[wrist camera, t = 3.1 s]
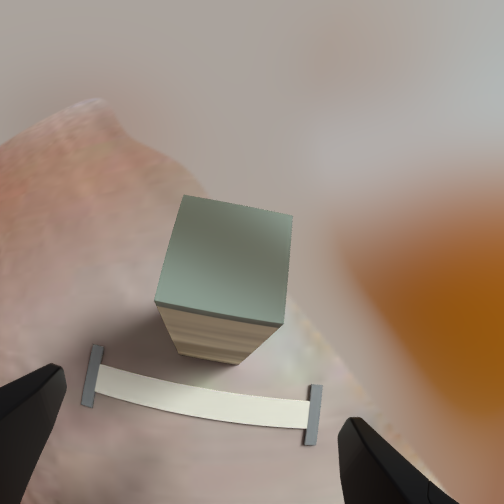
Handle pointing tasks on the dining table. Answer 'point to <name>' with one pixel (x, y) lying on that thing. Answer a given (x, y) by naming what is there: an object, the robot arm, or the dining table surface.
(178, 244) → the beige tall block
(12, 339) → the dining table surface
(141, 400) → the tape line
